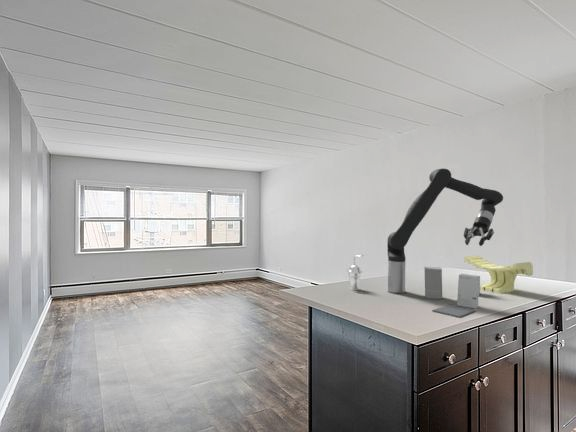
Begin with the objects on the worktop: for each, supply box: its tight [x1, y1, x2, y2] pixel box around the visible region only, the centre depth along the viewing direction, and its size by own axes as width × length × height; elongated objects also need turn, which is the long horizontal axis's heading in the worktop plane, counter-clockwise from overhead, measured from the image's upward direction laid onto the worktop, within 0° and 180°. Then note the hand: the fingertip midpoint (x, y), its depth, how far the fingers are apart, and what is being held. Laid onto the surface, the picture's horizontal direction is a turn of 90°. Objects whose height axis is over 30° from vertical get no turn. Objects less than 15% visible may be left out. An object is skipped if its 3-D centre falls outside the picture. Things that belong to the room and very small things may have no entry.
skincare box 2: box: [456, 273, 481, 310], centre depth 163 cm, size 8×6×15 cm
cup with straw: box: [346, 254, 365, 291], centre depth 199 cm, size 8×9×20 cm
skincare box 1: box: [424, 266, 443, 300], centre depth 180 cm, size 8×7×16 cm
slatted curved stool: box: [463, 255, 534, 294], centre depth 200 cm, size 30×16×18 cm, turn 28°
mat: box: [431, 303, 477, 319], centre depth 155 cm, size 16×12×1 cm
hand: (473, 244), depth 176 cm, fingers open, 6 cm apart
